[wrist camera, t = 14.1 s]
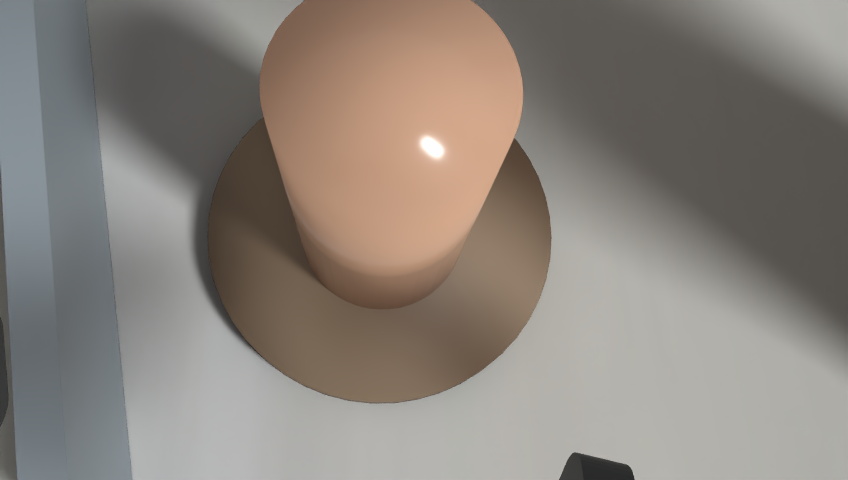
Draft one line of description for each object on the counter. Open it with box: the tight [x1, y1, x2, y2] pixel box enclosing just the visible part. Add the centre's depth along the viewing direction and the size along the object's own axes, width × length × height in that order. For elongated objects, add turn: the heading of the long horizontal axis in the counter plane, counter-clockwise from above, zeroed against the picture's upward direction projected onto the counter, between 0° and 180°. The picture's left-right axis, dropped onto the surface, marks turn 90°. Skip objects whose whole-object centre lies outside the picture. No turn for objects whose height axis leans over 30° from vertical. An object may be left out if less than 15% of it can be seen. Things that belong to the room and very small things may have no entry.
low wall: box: [0, 0, 132, 480], centre depth 22 cm, size 24×1×5 cm, turn 12°
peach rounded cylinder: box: [259, 0, 523, 309], centre depth 20 cm, size 6×6×10 cm
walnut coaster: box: [208, 117, 551, 403], centre depth 25 cm, size 12×12×1 cm
